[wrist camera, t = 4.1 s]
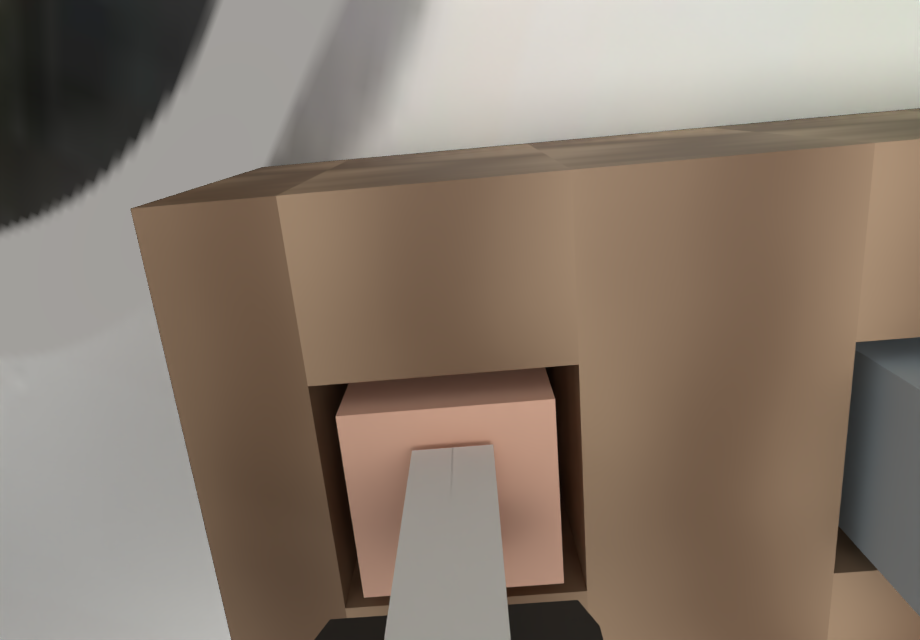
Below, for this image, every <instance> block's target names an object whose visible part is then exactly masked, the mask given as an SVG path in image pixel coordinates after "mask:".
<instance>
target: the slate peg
mask: <svg viewBox="0 0 920 640" xmlns="http://www.w3.org/2000/svg"><path fill="white" fill-rule="evenodd" d="M838 526H839V527H840V528H841V529H842V530H843V531H844V533H845V534H846V535H847V536H848V537H849V538H850V539H851V540H852V542H853V543H854V544H855V545H856V546H857V547H858V548H859V549H860V550H861V552H862V553H863V554H864V555H865V556H866V557H867V558H868V559H869V560H870V562H871V563H872V564H873V565H874V566H875V567H876V568H877V569H878V570H879V572H880V573H881V574H882V575H883V576H884V577H885V578H886V579H887V581H888V582H889V583H890V584H891V585H892V586H893V587H894V588H895V589H896V591H897V592H898V593H899V594H900V595H901V596H902V597H903V598H904V599H905V601H906V602H907V603H908V604H909V605H910V606H911V607H912V608H913V610H914V611H915V612H916V613H917V614H918V615H919V616H920V337H914V338H902V339H890V340H877V341H865V342H856V347H855V357H854V368H853V378H852V389H851V399H850V409H849V420H848V430H847V441H846V451H845V461H844V472H843V482H842V493H841V503H840V513H839V524H838Z"/></svg>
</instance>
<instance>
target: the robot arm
mask: <svg viewBox="0 0 920 640" xmlns="http://www.w3.org/2000/svg"><path fill="white" fill-rule="evenodd" d="M314 640H603V636H602V633H601V629H600V626H599V624H598V623H597V622H596V621H595V620H594V618H593V617H592V616H591V615H590V614H589V613H588V611H587V610H586V609H585V608H584V607H583V605H582V604H581V603H580V602H579V601H578V600H568V601H553V602H539V603H524V604H510V605H508V604H507V592H506V581H505V570H504V559H503V548H502V537H501V525H500V514H499V503H498V492H497V481H496V470H495V458H494V447H493V444H492V445H479V446H466V447H452V448H439V449H426V450H413V451H412V454H411V460H410V467H409V474H408V481H407V487H406V494H405V501H404V508H403V515H402V521H401V528H400V535H399V542H398V548H397V555H396V562H395V569H394V576H393V582H392V589H391V596H390V603H389V609H388V615H385V616H370V617H356V618H341V619H330V620H329V621H328V623H327V624H326V625H325V626H324V628H323V629H322V630H321V632H320V633H319V634H318V636H317V637H316V638H315V639H314Z"/></svg>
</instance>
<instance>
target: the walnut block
mask: <svg viewBox="0 0 920 640" xmlns="http://www.w3.org/2000/svg"><path fill="white" fill-rule="evenodd" d="M131 213H132V217H133V221H134V226H135V230H136V234H137V239H138V243H139V247H140V252H141V256H142V260H143V264H144V269H145V272H146V277H147V281H148V286H149V290H150V294H151V298H152V303H153V307H154V311H155V316H156V320H157V324H158V328H159V333H160V337H161V341H162V345H163V350H164V354H165V358H166V363H167V367H168V371H169V375H170V380H171V384H172V388H173V392H174V397H175V401H176V405H177V410H178V414H179V418H180V422H181V427H182V431H183V435H184V439H185V444H186V448H187V452H188V456H189V461H190V465H191V469H192V474H193V478H194V482H195V486H196V491H197V495H198V499H199V503H200V508H201V512H202V516H203V521H204V525H205V529H206V533H207V538H208V542H209V546H210V550H211V555H212V559H213V563H214V568H215V572H216V576H217V580H218V585H219V589H220V593H221V597H222V602H223V606H224V610H225V614H226V619H227V623H228V627H229V632H230V636H231V640H314V639H315V638H316V637H317V636H318V634H319V633H320V632H321V630H322V629H323V628H324V626H325V625H326V624H327V623H328V621H329V620H330V619H341V618H356V617H370V616H385V615H388V609H389V603H390V596H379V597H366V598H364V595H363V588H362V582H361V575H360V569H359V563H358V556H357V550H356V544H355V537H354V531H353V525H352V518H351V512H350V505H349V499H348V493H347V486H346V480H345V474H344V467H343V461H342V454H341V448H340V442H339V435H338V429H337V423H336V414H337V411H338V409H339V406H340V404H341V401H342V399H343V396H344V394H345V392H346V389H347V387H348V384H349V383H355V382H368V381H380V380H392V379H405V378H417V377H430V376H442V375H455V374H467V373H479V372H492V371H504V370H517V369H529V368H542V367H545V369H546V372H547V375H548V378H549V381H550V385H551V388H552V391H553V394H554V397H555V407H556V427H557V448H558V469H559V490H560V510H561V531H562V552H563V572H564V583H561V584H547V585H533V586H519V587H506V592H507V604H508V605H510V604H524V603H539V602H553V601H568V600H578V601H579V602H580V603H581V604H582V605H583V607H584V608H585V609H586V610H587V611H588V613H589V614H590V615H591V616H592V617H593V618H594V620H595V621H596V622H597V623H598V624H599V626H600V629H601V633H602V636H603V640H920V616H919V615H918V614H917V613H916V612H915V611H914V610H913V608H912V607H911V606H910V605H909V604H908V603H907V602H906V601H905V599H904V598H903V597H902V596H901V595H900V594H899V593H898V592H897V591H896V589H895V588H894V587H893V586H892V585H891V584H890V583H889V582H888V581H887V579H886V578H885V577H884V576H883V575H882V574H881V573H880V572H879V570H878V569H877V568H876V567H875V566H874V565H873V564H872V563H871V562H870V560H869V559H868V558H867V557H866V556H865V555H864V554H863V553H862V552H861V550H860V549H859V548H858V547H857V546H856V545H855V544H854V543H853V542H852V540H851V539H850V538H849V537H848V536H847V535H846V534H845V533H844V531H843V530H842V529H841V528H840V527H839V526H838V524H839V513H840V503H841V493H842V482H843V472H844V461H845V451H846V441H847V430H848V420H849V409H850V399H851V389H852V378H853V368H854V357H855V347H856V342H865V341H877V340H890V339H902V338H914V337H920V108H918V109H907V110H896V111H885V112H874V113H863V114H851V115H840V116H829V117H818V118H807V119H796V120H784V121H773V122H762V123H751V124H740V125H729V126H717V127H706V128H695V129H684V130H673V131H661V132H650V133H639V134H628V135H617V136H606V137H594V138H583V139H572V140H561V141H550V142H539V143H527V144H516V145H505V146H494V147H483V148H471V149H460V150H449V151H438V152H427V153H416V154H404V155H393V156H382V157H371V158H360V159H349V160H337V161H326V162H315V163H304V164H293V165H282V166H270V167H261V168H258V169H255V170H252V171H249V172H245V173H243V174H239V175H236V176H233V177H230V178H226V179H223V180H220V181H217V182H214V183H210V184H207V185H204V186H201V187H198V188H195V189H191V190H188V191H185V192H182V193H179V194H176V195H173V196H169V197H166V198H163V199H160V200H157V201H154V202H150V203H147V204H144V205H141V206H138V207H135V208H131Z"/></svg>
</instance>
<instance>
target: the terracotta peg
mask: <svg viewBox="0 0 920 640" xmlns="http://www.w3.org/2000/svg"><path fill="white" fill-rule="evenodd" d="M336 423H337V429H338V435H339V442H340V448H341V454H342V461H343V467H344V474H345V480H346V486H347V493H348V499H349V505H350V512H351V518H352V525H353V531H354V537H355V544H356V550H357V556H358V563H359V569H360V575H361V582H362V588H363V595H364V598H366V597H379V596H391V589H392V582H393V576H394V569H395V562H396V555H397V548H398V542H399V535H400V528H401V521H402V515H403V508H404V501H405V494H406V487H407V481H408V474H409V467H410V460H411V454H412V451H413V450H426V449H439V448H452V447H466V446H479V445H492V444H493V447H494V458H495V470H496V481H497V492H498V503H499V514H500V525H501V537H502V548H503V559H504V570H505V581H506V587H519V586H533V585H547V584H561V583H564V572H563V552H562V531H561V510H560V490H559V469H558V448H557V427H556V407H555V397H554V394H553V391H552V388H551V385H550V381H549V378H548V375H547V372H546V369H545V367H542V368H529V369H517V370H504V371H492V372H479V373H467V374H455V375H442V376H430V377H417V378H405V379H392V380H380V381H368V382H355V383H349V384H348V387H347V389H346V392H345V394H344V396H343V399H342V401H341V404H340V406H339V409H338V411H337V414H336Z"/></svg>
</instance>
